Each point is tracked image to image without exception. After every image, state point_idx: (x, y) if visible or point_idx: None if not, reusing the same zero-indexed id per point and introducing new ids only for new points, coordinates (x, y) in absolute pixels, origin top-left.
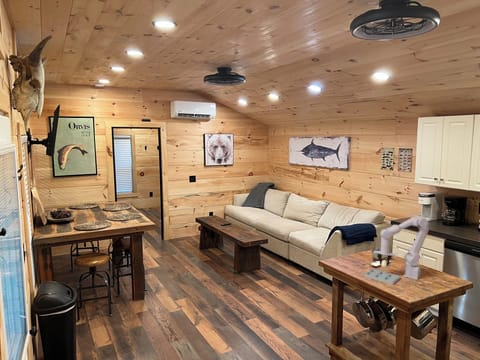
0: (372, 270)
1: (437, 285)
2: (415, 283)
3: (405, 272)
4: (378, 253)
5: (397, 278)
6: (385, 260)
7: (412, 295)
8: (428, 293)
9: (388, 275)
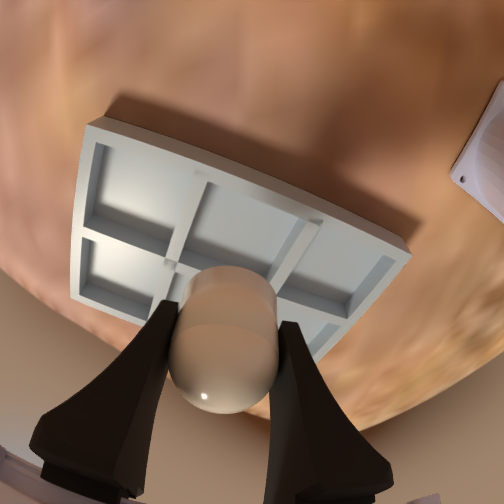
0: (99, 148)
1: None
2: (474, 290)
3: (493, 179)
4: (64, 494)
5: (365, 309)
6: (238, 407)
7: (374, 409)
8: (459, 373)
9: (288, 275)
